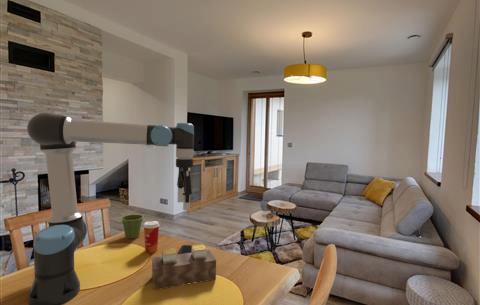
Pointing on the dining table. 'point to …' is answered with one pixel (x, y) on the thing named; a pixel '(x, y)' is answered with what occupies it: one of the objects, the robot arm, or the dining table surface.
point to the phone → (185, 249)
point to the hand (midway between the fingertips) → (183, 205)
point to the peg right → (198, 252)
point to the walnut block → (183, 270)
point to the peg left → (168, 256)
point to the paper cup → (151, 236)
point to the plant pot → (132, 225)
